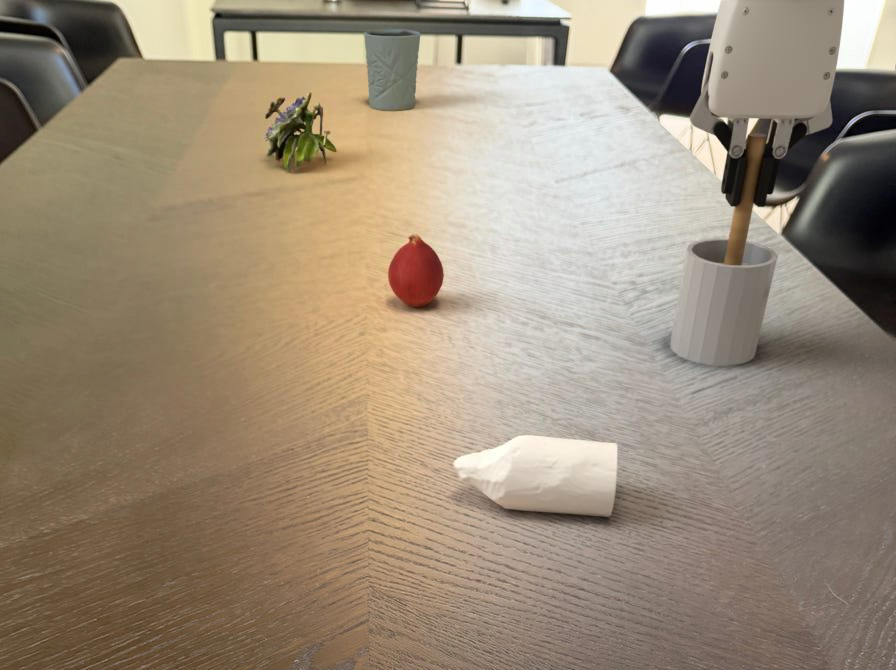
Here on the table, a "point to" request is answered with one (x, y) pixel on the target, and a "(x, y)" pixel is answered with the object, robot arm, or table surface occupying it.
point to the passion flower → (287, 142)
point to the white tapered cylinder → (546, 475)
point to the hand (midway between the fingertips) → (744, 201)
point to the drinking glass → (392, 68)
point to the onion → (416, 273)
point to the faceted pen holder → (721, 303)
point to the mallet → (745, 200)
